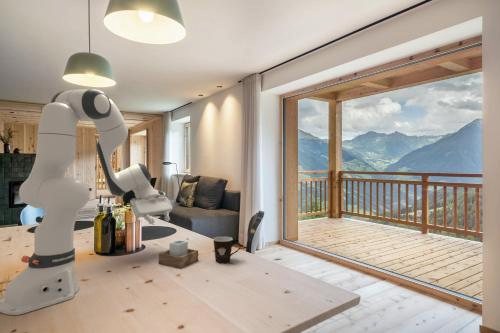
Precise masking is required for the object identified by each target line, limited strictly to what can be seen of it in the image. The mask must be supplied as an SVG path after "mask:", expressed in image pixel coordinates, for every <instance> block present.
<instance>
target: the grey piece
mask: <svg viewBox="0 0 500 333" xmlns="http://www.w3.org/2000/svg"><path fill="white" fill-rule="evenodd" d="M188 243H189V241H187V240H182V239H178V240H175V241H172V242H169V250H170V255H173V256H177V257H181V256H184V255H186V254H188V249H189V247H188Z"/></svg>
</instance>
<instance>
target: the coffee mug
mask: <svg viewBox="0 0 500 333" xmlns="http://www.w3.org/2000/svg"><path fill="white" fill-rule="evenodd" d="M235 244H237V245H239V247H238V248H237V250H235V251H233V252H232V248H233V246H234V245H235ZM241 246H242V244H241V243H240V242H238V241H234V242H233V238H232V236H231V237H230V236H216V237H214V238H213V247H214V256H215V257H214V258H215V262H216V264H217V263H218V264H222V263H223V264H228V263H230V262H231V257H232V256H233V255H234V254H236V253H238V252H239V251H240V250H241Z"/></svg>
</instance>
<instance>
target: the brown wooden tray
mask: <svg viewBox="0 0 500 333" xmlns="http://www.w3.org/2000/svg"><path fill="white" fill-rule="evenodd" d="M198 261H199V249H198V250H197V249H191V248H188V254H186V255H184V256H181V257H177V256H173V255H170V249H167V250H164V251H162V252H159V253H158V264H159V265H163V266H167V267H172V268H176V269H183V268H184V267H186V266H189V265H191V264H193V263H195V262H198Z"/></svg>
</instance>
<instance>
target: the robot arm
mask: <svg viewBox="0 0 500 333" xmlns="http://www.w3.org/2000/svg"><path fill="white" fill-rule="evenodd" d="M79 121H82V122H83V121H92V122H93V124H94V127H95V129H96V131H97V133H98V141H97V142H96V145H95V146H96V148H95V149H96V152H97V154H98V159H99V163H100V165H101V168H102V171H103V174H104V177H105V178H104V179H105V184H106V189H107V190H108V192H109V193H110V194H111V195H112V196H117V197H121V196H124V195H125V194H127V193H128V192H130V191H132V192H133V193H134V197H135V198H133V197H132V198H131V199H130V200H129V204H130V205H131V210H132V212H133V216H135V218H137V219H139V218H140V219H141V218H143V219H144V220H145V221H147V222H148V224H149V225H154V223H155V220H154V218H151V217H152V216H157V215H163V216H164V218H163V219H164V220H165V222H169V221H170V220H171V218H170V216H169V214H170V212H172V211H173V205H172V203H171V201H170V199H169V198H168V197H167V196H166V193H165V192H164V191H160V190H158V189H155V188H154V187H153V185H151V180H152V175H151V173H150V172H149V171H148V168H147V166H146V165H145V164H143V163H134V164H133V165H131V166H128V167H127V168H124V169H123V170H121V171H118V172H115V171H114V168H113V164H112V161H111V157H112V155H113V154H114V153H115V151H116V150H118V149H119V148H120V147H121V146H122V145H123V144H124V143H125V142H126V140H127V139H128V136H129V130H128V125H127V123H126V121H125V119H124V117H123V115H122V113H121V111H120V110H119V108H118V107H117V105H116V103H115V102H114V101H113V100H112V99H111V98H109V97H108V95H107V94H106V93H105V92H104V91H102V90H99V89H97V88H96V89H95V88H90V89H79V88H77V89H70V90H63V91H59V92H57V93H56V94H54V96H52V98H51V100H50V102H49V103H47V104H45V105H43V108H42V110H41V114H40V118H39V123H38V129H37V130H38V131H37V143H36V153H35V154H36V155H35V160H34V162H33V165H32V168H31V171H30V173H29V176H28V177H27V179H26V180H25V181H23V183H22V184H21V185H20V187H19V190H18V196H19V199H20V201H22V202H23V203H24V204H26V205H28V206H30V207H32V208H34V209H42V210H44V215H43V217H42V220H41V222H40V224H39V225H37V226H36V227H35V229H34V237H33V238H34V239H33V240H34V243H33V245H34V246H33V247H34V248H33V249H34V252H33V253H32V255H31V256H29V255H23V256H22V257H21V258H20V261H21V262H23V263H25V264H27V263H28V264H27V267H25V268H24V269H23V270H22V271H21V272H20V273H19V274H17V275H16V276H15V277H14V278H13V279H12V280H11V281H9V283H7V286H6V287H5V291H4V298H1V299H0V313H2V314H5V315H8V316H11V315H12V316H19V315H23V314H26V313H29V312H33V311H36V310H39V309H43V308H45V307H49V306H53V305H55V304H59V303H62V302H65V301H69V300H71V299H74V297H75V294H76V293H77V292H78V290H79V289H80V287H79V285H78V281H77V276H76V271H75V270H76V269H75V261H76V251H75V250H76V248H75V247H74V238H75V236H74V234H75V226H76V225H75V224H76V220H77V218H78V215H79V213H80V211H82V209H83V208H84V207H86V205H87V204H88V202H89V200H90V196H91V193H90V192H91V191H90V187H89V186H88V184H87V183H85V182H84V181H81V180H79V179H77V178H73V177H68V176H67V177H65V176H66V172H67V170H68V168H69V167H70V165H71V164H72V163H74V162H75V160H76V152H77V134H78V132H77V128H78V127H77V124H78V122H79Z"/></svg>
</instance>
